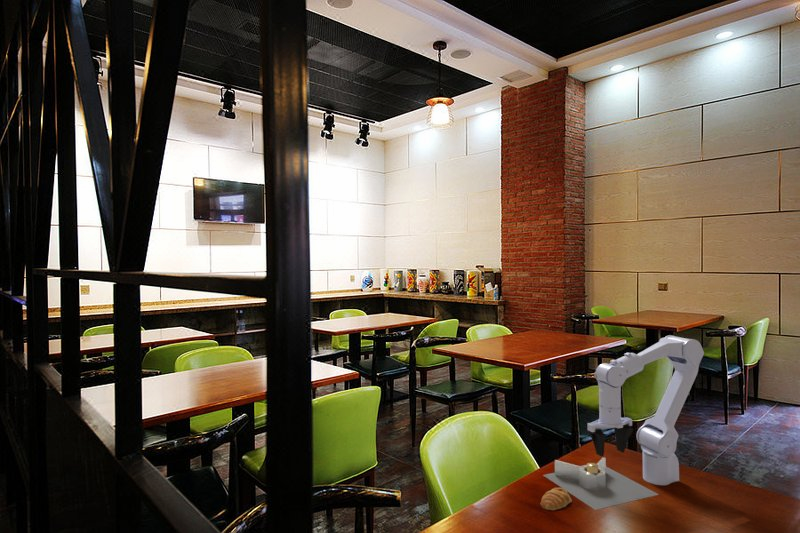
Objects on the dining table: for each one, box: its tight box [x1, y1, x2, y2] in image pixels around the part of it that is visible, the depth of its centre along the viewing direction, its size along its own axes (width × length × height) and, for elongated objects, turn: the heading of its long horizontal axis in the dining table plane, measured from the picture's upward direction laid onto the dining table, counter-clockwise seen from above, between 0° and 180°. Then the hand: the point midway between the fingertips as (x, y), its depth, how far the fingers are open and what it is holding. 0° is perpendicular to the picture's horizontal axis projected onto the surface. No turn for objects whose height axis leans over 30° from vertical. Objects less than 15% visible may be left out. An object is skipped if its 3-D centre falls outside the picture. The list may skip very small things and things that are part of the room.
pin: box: [586, 462, 598, 474], centre depth 137 cm, size 3×3×6 cm
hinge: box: [554, 456, 607, 492], centre depth 141 cm, size 16×13×4 cm
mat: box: [542, 466, 659, 511], centre depth 138 cm, size 22×22×1 cm
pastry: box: [539, 487, 573, 511], centre depth 128 cm, size 9×7×4 cm
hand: (610, 453), depth 137 cm, fingers open, 7 cm apart
